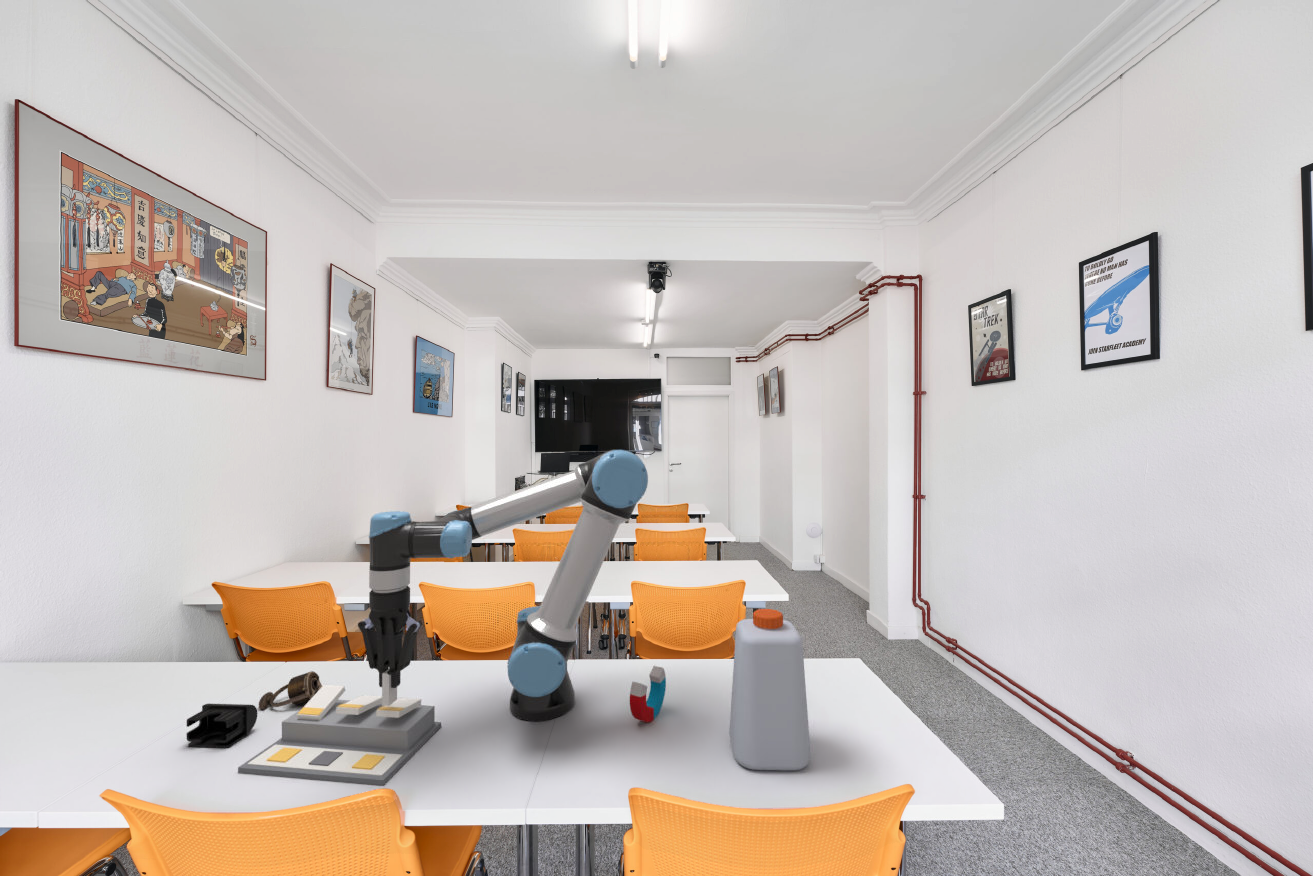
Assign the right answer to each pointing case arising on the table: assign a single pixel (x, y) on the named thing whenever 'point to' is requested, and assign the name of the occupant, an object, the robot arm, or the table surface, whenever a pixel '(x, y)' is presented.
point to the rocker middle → (359, 705)
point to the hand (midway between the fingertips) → (389, 702)
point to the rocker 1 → (321, 702)
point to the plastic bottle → (769, 695)
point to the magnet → (656, 696)
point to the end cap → (221, 725)
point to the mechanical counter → (294, 691)
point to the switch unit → (345, 746)
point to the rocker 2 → (398, 707)
